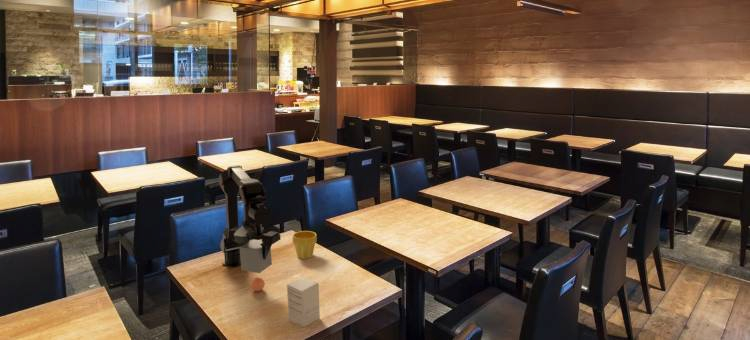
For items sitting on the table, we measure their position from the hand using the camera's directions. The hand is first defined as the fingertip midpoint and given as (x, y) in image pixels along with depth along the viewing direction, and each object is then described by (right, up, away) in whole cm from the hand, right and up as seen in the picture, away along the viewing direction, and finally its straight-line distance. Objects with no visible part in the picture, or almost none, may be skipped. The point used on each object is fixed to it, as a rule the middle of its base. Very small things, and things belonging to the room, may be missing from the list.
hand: (255, 257), depth 166 cm
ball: (0, -10, +2) cm, 11 cm away
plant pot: (+13, -6, +35) cm, 37 cm away
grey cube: (0, -4, +1) cm, 4 cm away
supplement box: (+20, -17, -17) cm, 31 cm away
